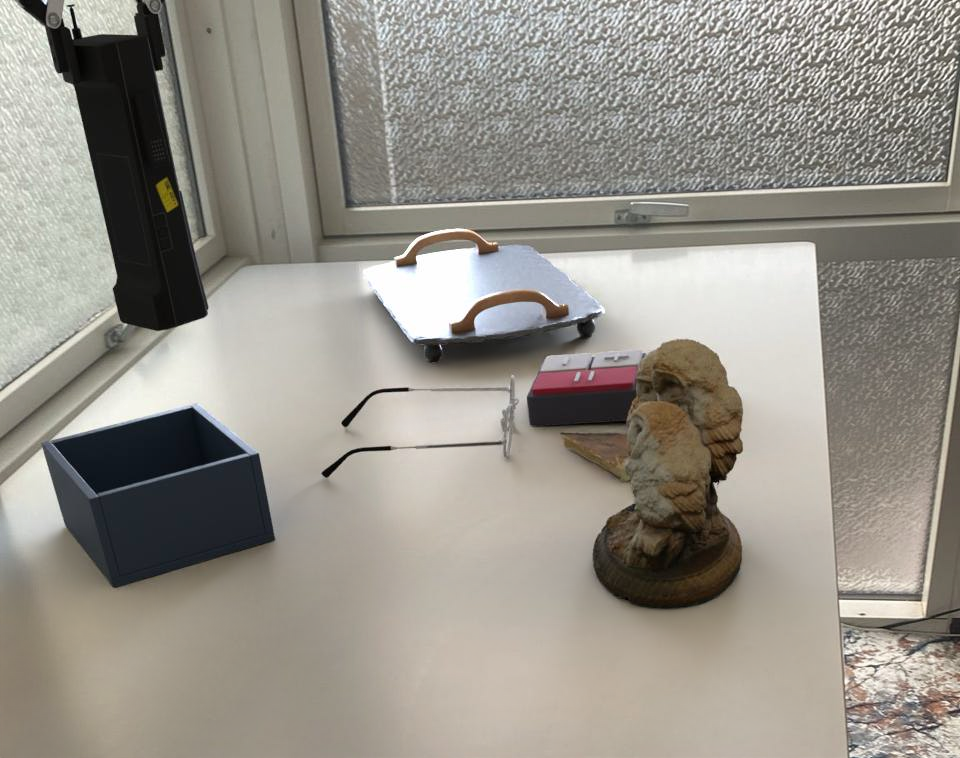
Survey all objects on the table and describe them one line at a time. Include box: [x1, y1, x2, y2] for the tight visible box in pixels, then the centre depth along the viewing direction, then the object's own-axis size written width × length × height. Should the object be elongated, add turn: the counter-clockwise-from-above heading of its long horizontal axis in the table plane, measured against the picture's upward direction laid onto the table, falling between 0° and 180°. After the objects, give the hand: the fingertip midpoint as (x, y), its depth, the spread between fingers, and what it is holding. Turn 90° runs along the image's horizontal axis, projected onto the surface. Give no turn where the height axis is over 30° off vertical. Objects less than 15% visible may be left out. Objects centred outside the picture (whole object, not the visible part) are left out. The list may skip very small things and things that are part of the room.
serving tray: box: [362, 228, 606, 364], centre depth 161 cm, size 39×23×6 cm, turn 14°
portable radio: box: [65, 4, 210, 332], centre depth 116 cm, size 8×6×25 cm
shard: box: [559, 431, 631, 483], centre depth 124 cm, size 11×8×2 cm
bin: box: [40, 403, 276, 588], centre depth 116 cm, size 15×16×8 cm
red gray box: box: [526, 348, 654, 427], centre depth 133 cm, size 11×4×15 cm
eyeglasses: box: [320, 374, 520, 479], centre depth 128 cm, size 16×19×5 cm
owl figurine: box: [592, 338, 744, 609], centre depth 102 cm, size 18×12×17 cm, turn 176°
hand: (113, 73), depth 111 cm, fingers closed on portable radio, 6 cm apart
